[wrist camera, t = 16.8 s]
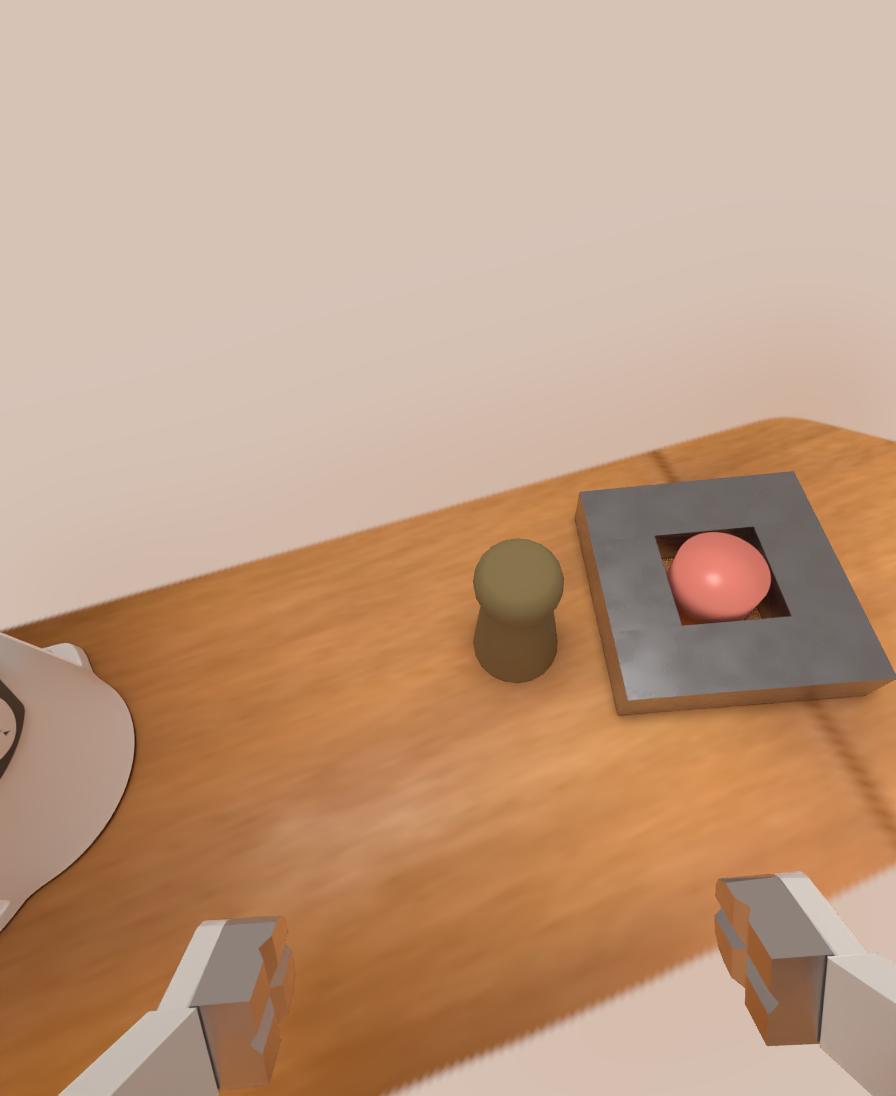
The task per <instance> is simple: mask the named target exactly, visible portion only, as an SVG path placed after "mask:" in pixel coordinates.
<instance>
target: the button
mask: <svg viewBox="0 0 896 1096" xmlns="http://www.w3.org/2000/svg"><path fill="white" fill-rule="evenodd" d="M666 575H667V579H668V582H669V585H670V588H671V592H672V595H673V598H674V602H675V605H676V608H677V611H678V615H679V618H680V621H681V624H682V625H683V626H685V625H697V624H709V623H720V622H732V621H743V620H744V619H745V618H746V617H747V616H748V615H749V614H750V613H751V611H752V610H753V609H754V608H755V607H756V606H757V605H758V604H759V603H760V602H761V600H762V599H763V598H764V597H765V596H766V594H767V592H768V590H769V587H770V583H771V575H770V570H769V567H768V565H767V563H766V561H765V559H764V558H763V556H762V555H761V554H760V553H759V551H758V550H757V549H755V548H754V547H753V546H752V545H751V544H749V543H748V542H746V541H744V540H743V539H740V538H738V537H736V536H733V535H730V534H726V533H719V532H708V533H702V534H699V535H696V536H693V537H692V538H690V539H688V540H687V541H686V542H685V543H684V544H683V545H682V546H681V547H680V549H679V551H678V553H677V555H676V556H675V558H674V560H673V562H672V564H671V566H670V568H669V570H668V572H667V574H666Z"/></svg>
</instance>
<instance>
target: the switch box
mask: <svg viewBox="0 0 896 1096" xmlns="http://www.w3.org/2000/svg"><path fill="white" fill-rule="evenodd" d="M575 522H576V526H577V531H578V536H579V540H580V545H581V549H582V554H583V558H584V563H585V568H586V572H587V577H588V581H589V586H590V590H591V595H592V600H593V604H594V609H595V613H596V618H597V622H598V627H599V632H600V636H601V641H602V645H603V650H604V654H605V659H606V664H607V668H608V673H609V677H610V682H611V686H612V691H613V696H614V700H615V705H616V709H617V714H618V715H629V714H641V713H654V712H666V711H679V710H691V709H704V708H716V707H729V706H741V705H754V704H766V703H779V702H791V701H804V700H816V699H829V698H841V697H854V696H865V695H867V694H869V693H871V692H873V691H875V690H877V689H879V688H880V687H882V686H884V685H886V684H888V683H890V682H892V681H894V680H896V674H895V672H894V670H893V668H892V666H891V664H890V662H889V660H888V658H887V656H886V654H885V652H884V650H883V648H882V646H881V644H880V642H879V640H878V638H877V636H876V634H875V632H874V630H873V628H872V626H871V624H870V622H869V620H868V618H867V616H866V614H865V612H864V610H863V608H862V606H861V604H860V602H859V600H858V598H857V596H856V594H855V592H854V590H853V588H852V586H851V584H850V582H849V580H848V578H847V576H846V574H845V572H844V570H843V568H842V566H841V564H840V562H839V560H838V558H837V557H836V555H835V553H834V551H833V549H832V547H831V545H830V543H829V541H828V539H827V537H826V535H825V533H824V531H823V529H822V527H821V525H820V523H819V521H818V519H817V517H816V515H815V513H814V511H813V509H812V507H811V505H810V503H809V501H808V499H807V497H806V495H805V493H804V491H803V489H802V487H801V485H800V483H799V481H798V479H797V477H796V475H795V473H794V471H791V472H781V473H771V474H760V475H750V476H740V477H729V478H719V479H709V480H698V481H688V482H678V483H668V484H657V485H647V486H637V487H626V488H616V489H606V490H595V491H585V492H580V493H579V499H578V504H577V509H576V514H575ZM708 532H719V533H726V534H730V535H733V536H736V537H738V538H740V539H743V540H744V541H746V542H748V543H749V544H751V545H752V546H753V547H754V548H755V549H757V550H758V551H759V553H760V554H761V555H762V556H763V558H764V559H765V561H766V563H767V565H768V567H769V570H770V575H771V583H770V587H769V590H768V592H767V594H766V596H765V597H764V598H763V599H762V600H761V602H760V603H759V604H758V605H757V607H758V609H759V612H760V614H761V617H762V619H755V620H743V621H732V622H720V623H709V624H697V625H685V626H682V624H681V621H680V618H679V615H678V611H677V608H676V605H675V602H674V598H673V595H672V592H671V588H670V585H669V582H668V579H667V575H666V572H665V569H664V566H663V562H662V559H663V558H674V557H675V556H676V555H677V553H678V551H679V549H680V547H681V546H682V545H683V544H684V543H685V542H686V541H687V540H688V539H690V538H692V537H693V536H696V535H699V534H702V533H708Z"/></svg>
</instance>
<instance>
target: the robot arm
mask: <svg viewBox="0 0 896 1096" xmlns="http://www.w3.org/2000/svg"><path fill="white" fill-rule="evenodd" d="M133 756H134V728H133V723H132V719H131V715H130V713H129V710H128V708H127V706H126V704H125V702H124V701H123V699H122V698H121V696H120V695H119V694H118V693H117V692H116V691H115V690H114V689H113V688H112V687H111V686H110V685H108V684H107V683H105V682H104V681H102V680H101V679H100V678H98V677H97V676H96V675H95V674H94V673H93V671H92V668H91V665H90V663H89V660H88V658H87V656H86V654H85V652H84V651H83V650H82V649H81V648H80V647H78V646H75V645H73V644H70V643H61V644H57V645H54V646H50V647H46V648H42V649H41V648H39V647H36V646H34V645H31V644H29V643H26V642H24V641H21V640H19V639H16V638H14V637H11V636H9V635H6V634H3V633H1V632H0V931H1V930H2V929H3V928H4V927H5V925H6V924H7V923H8V922H9V921H10V919H11V918H12V917H13V916H14V914H15V913H16V912H17V911H18V909H19V908H20V907H21V905H22V904H23V903H24V902H25V900H26V899H27V898H28V897H29V896H30V895H32V894H33V893H34V892H35V891H36V890H38V889H39V888H40V887H42V886H43V885H44V884H46V883H47V882H49V881H50V880H51V879H53V878H54V877H56V876H57V875H58V874H60V873H61V872H62V871H64V870H65V869H66V868H67V867H69V866H70V865H71V864H72V863H73V862H74V861H75V860H76V859H77V858H78V857H79V856H80V855H81V854H82V853H83V852H84V851H85V850H86V849H87V848H88V847H89V846H90V845H91V844H92V842H93V841H94V840H95V839H96V838H97V836H98V835H99V834H100V832H101V831H102V830H103V828H104V827H105V825H106V824H107V822H108V821H109V819H110V818H111V816H112V814H113V813H114V811H115V809H116V807H117V805H118V803H119V801H120V799H121V797H122V795H123V792H124V790H125V787H126V784H127V781H128V778H129V775H130V771H131V767H132V762H133ZM715 896H716V898H717V900H718V902H719V903H720V905H721V909H720V910H719V911H718V912H717V914H716V915H715V933H716V938H717V942H718V947H719V950H720V953H721V955H722V958H723V961H724V963H725V965H726V967H727V969H728V971H729V973H730V975H731V977H732V978H733V979H735V980H736V981H737V982H738V983H739V984H741V985H742V986H743V987H744V988H745V1005H746V1007H747V1008H748V1011H749V1012H750V1014H751V1016H752V1018H753V1020H754V1022H755V1024H756V1026H757V1028H758V1030H759V1032H760V1034H761V1035H762V1038H763V1040H764V1041H765V1043H766V1045H767V1046H779V1045H802V1044H820V1048H821V1049H823V1051H825V1052H826V1053H827V1054H828V1055H829V1056H830V1057H831V1058H832V1059H833V1060H834V1061H836V1062H837V1063H838V1064H839V1065H840V1066H841V1067H842V1068H843V1069H844V1070H845V1071H846V1072H848V1073H849V1074H850V1075H851V1076H852V1077H853V1078H854V1079H855V1080H856V1081H857V1082H858V1083H860V1084H861V1085H862V1086H863V1087H864V1088H865V1089H866V1090H867V1091H868V1092H869V1093H870V1094H871V1095H873V1096H896V964H895V963H893V962H892V961H890V960H889V959H887V958H885V957H884V956H882V955H880V954H879V953H868V952H867V950H866V949H865V948H864V947H863V945H862V944H861V943H860V942H859V940H858V939H857V938H856V937H855V936H854V934H853V933H852V932H851V930H850V929H849V928H848V927H847V925H846V924H845V923H844V922H843V920H842V919H841V918H840V917H839V915H838V914H837V913H836V912H835V910H834V909H833V908H832V907H831V905H830V904H829V903H828V902H827V900H826V899H825V898H824V896H823V895H822V894H821V893H820V891H819V890H818V889H817V888H816V886H815V885H814V884H813V883H812V881H811V880H810V879H809V878H808V876H807V875H805V874H804V873H802V872H801V871H798V872H787V873H776V874H772V875H771V874H764V875H754V876H743V877H733V878H722V879H718V881H717V883H716V891H715ZM287 934H288V928H287V924H286V920H285V917H282V916H271V917H252V918H234V919H224V920H207V921H203V922H202V923H201V924H200V925H199V926H198V927H197V929H196V931H195V933H194V935H193V937H192V939H191V941H190V943H189V945H188V947H187V949H186V951H185V953H184V955H183V957H182V959H181V961H180V963H179V966H178V968H177V970H176V972H175V974H174V976H173V978H172V980H171V982H170V984H169V986H168V988H167V990H166V992H165V994H164V996H163V998H162V1000H161V1003H160V1005H159V1007H158V1009H157V1011H148V1012H147V1013H146V1014H145V1015H144V1016H143V1017H142V1018H141V1019H140V1020H139V1021H138V1022H136V1023H135V1024H134V1025H133V1026H132V1027H131V1028H130V1029H129V1030H128V1031H127V1032H126V1033H125V1034H124V1035H122V1036H121V1037H120V1038H119V1039H118V1040H117V1041H116V1042H115V1043H114V1044H113V1045H112V1046H111V1047H110V1048H108V1049H107V1050H106V1051H105V1052H104V1053H103V1054H102V1055H101V1056H100V1057H99V1058H98V1059H97V1060H96V1061H94V1062H93V1063H92V1064H91V1065H90V1066H89V1067H88V1068H87V1069H86V1070H85V1071H84V1072H83V1073H82V1074H80V1075H79V1076H78V1077H77V1078H76V1079H75V1080H74V1081H73V1082H72V1083H71V1084H70V1085H69V1086H68V1087H66V1088H65V1089H64V1090H63V1091H62V1092H61V1093H60V1094H59V1095H58V1096H218V1095H219V1092H218V1091H221V1090H230V1089H239V1088H247V1087H256V1086H265V1085H269V1084H270V1080H271V1076H272V1073H273V1069H274V1065H275V1061H276V1058H277V1054H278V1050H279V1046H280V1042H281V1038H280V1033H279V1029H278V1024H279V1023H280V1022H281V1021H282V1020H283V1018H284V1017H285V1016H286V1015H287V1014H288V1012H289V1008H290V1004H291V999H292V995H293V987H294V977H295V970H294V958H293V952H292V950H291V949H290V948H289V947H288V946H287V945H285V941H286V937H287Z"/></svg>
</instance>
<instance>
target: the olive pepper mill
mask: <svg viewBox="0 0 896 1096" xmlns="http://www.w3.org/2000/svg"><path fill="white" fill-rule="evenodd" d="M473 584H474V589H475V594H476V599H477V600H478V602H479V604H480V605H481V607H480V612H479V616H478V621H477V625H476V629H475V635H474V642H473V644H474V649H475V655H476V657H477V659H478V660H479V662H480V664H481V666H482V667H483V668H484V669H485V670H486V671H487V672H488V673H490V674H491V675H492V676H494V677H496V678H498V679H500V680H503V681H507V682H514V683H520V682H526V681H531V680H533V679H535V678H537V677H539V676H540V675H542V674H543V673H544V672H545V671H546V670H547V669H548V668H549V667H550V666H551V665H552V662H553V660H554V658H555V655H556V652H557V635H556V627H555V619H554V610H555V609H556V607H557V606H558V603H559V601H560V599H561V597H562V594H563V585H564V577H563V574H562V570H561V567H560V564H559V562H558V560H557V559H556V558H555V556H554V555H553V553H552V552H551V551H549V550H548V549H547V548H545V547H544V546H543V545H541V544H539V543H536V542H533V541H531V540H527V539H511V540H505V541H502V542H500V543H498V544H496V545H494V546H492V547H491V548H490V549H489V550H487V551H486V552H485V553H484V554H483V555H482V557H481V559H480V561H479V563H478V564H477V566H476V569H475V574H474V580H473Z"/></svg>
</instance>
